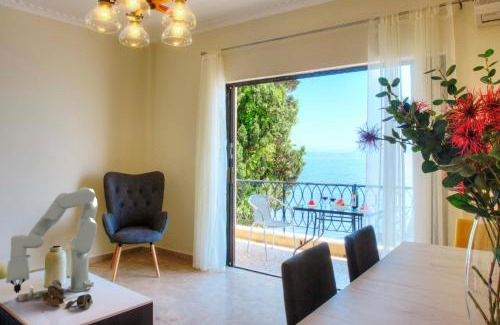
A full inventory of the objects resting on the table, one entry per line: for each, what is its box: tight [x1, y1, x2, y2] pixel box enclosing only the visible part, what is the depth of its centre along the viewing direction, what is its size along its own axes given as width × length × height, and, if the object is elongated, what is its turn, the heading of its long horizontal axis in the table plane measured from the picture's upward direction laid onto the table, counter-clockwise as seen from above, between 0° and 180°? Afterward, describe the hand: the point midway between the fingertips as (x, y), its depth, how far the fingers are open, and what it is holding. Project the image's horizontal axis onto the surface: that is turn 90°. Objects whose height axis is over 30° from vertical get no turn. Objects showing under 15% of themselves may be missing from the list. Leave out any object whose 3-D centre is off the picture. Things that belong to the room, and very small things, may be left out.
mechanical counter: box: [65, 293, 94, 310], centre depth 183 cm, size 7×13×10 cm
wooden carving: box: [41, 284, 67, 307], centre depth 186 cm, size 16×5×10 cm, turn 70°
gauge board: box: [17, 279, 62, 303], centre depth 199 cm, size 20×10×6 cm, turn 127°
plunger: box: [29, 285, 34, 297], centre depth 195 cm, size 1×8×4 cm, turn 37°
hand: (17, 292), depth 192 cm, fingers closed
